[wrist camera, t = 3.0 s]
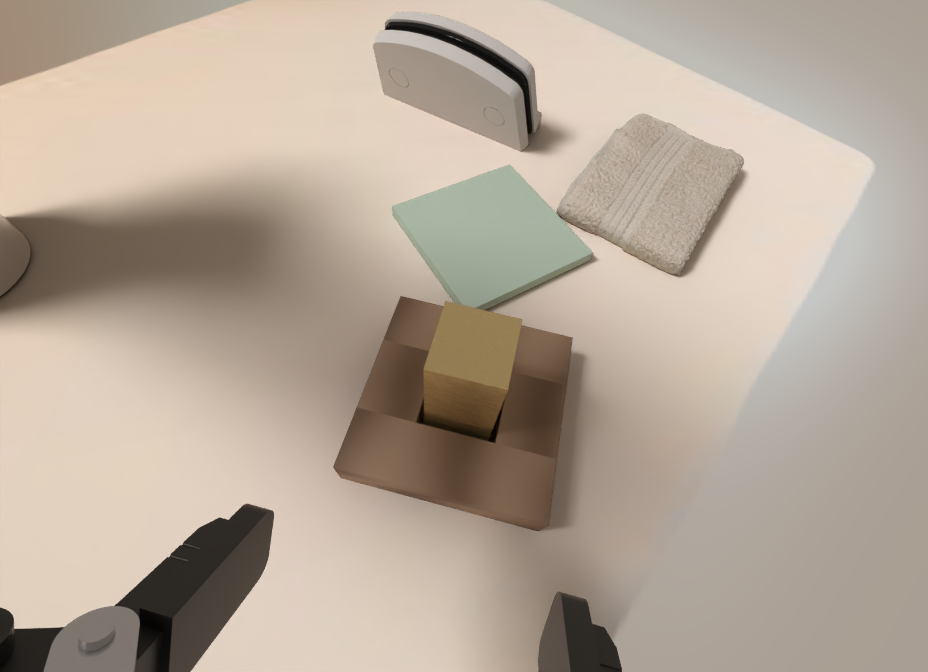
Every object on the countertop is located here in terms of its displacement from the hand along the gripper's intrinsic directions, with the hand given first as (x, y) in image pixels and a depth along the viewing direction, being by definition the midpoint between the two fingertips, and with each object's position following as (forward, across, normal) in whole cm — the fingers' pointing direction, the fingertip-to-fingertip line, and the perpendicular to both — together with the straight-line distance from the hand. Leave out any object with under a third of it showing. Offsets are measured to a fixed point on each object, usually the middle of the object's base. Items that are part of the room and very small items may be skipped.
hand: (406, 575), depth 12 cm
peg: (+17, 0, +2) cm, 17 cm away
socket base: (+17, 0, +2) cm, 17 cm away
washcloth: (+36, -12, -15) cm, 41 cm away
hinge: (+39, +8, -19) cm, 44 cm away
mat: (+28, +1, -9) cm, 29 cm away
